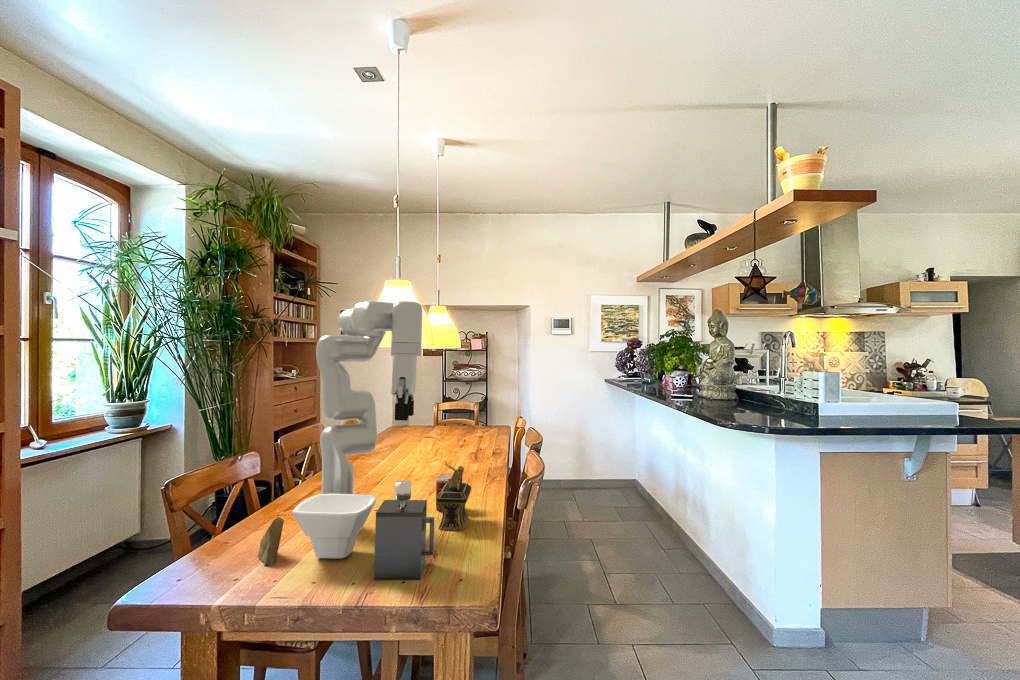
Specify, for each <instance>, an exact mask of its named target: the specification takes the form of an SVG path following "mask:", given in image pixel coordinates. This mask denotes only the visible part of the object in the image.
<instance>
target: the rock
mask: <svg viewBox="0 0 1020 680" xmlns="http://www.w3.org/2000/svg"><path fill="white" fill-rule="evenodd" d="M284 521H285V519H283V518H282V517H280V516H277V517H276V518H275V519H273V520H272V523H271V524H270V525H269V526H268V527H267V530H266V531H265V533H264V534H263V536H262V538H261V540H260V542H259V550H258V553H257V558H258V559H259V560H260V561H261V562H262V563H263V565H265V566H268V565H269V566H270V565H271V566H272V565H275V563H276V560H277V557H278V552H279V547H280V543H281V542H280V541H281V538H282V532H283V527H284Z"/></svg>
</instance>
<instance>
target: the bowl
mask: <svg viewBox="0 0 1020 680" xmlns="http://www.w3.org/2000/svg"><path fill="white" fill-rule="evenodd" d="M376 502H377V496H376V495H373V494H360V493H359V494H357V493H353V494H321V493H319V494H316V495H313V496H311V497H309V498H307V499H305V500H304V501H303V500H302V501H301V502H300V503H299V504H297V505H296V506H295V507H294V509H293V510H292V512H291V514H292V516H293V517H294V519H295V521H296V522H297V524H298V526H299V528H300V529H301V530H302V531H303V533H304V535H305V536H307V537H309V538H310V541H311V543H312V547H313V552H314V555H315V558H318V559H319V558H320V559H344V558H346V557H348V556H350V554H351V553H352V552H353V550H354V548H355V544H356V542H357V537H358V535H359V532H360V531H361V530H362V528H363V527H364V525H365V524H366V521H367V519H368V518H369V516H370V515H371V512H372V510H373V508H374V506H375V504H376Z"/></svg>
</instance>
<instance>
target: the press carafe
mask: <svg viewBox="0 0 1020 680" xmlns="http://www.w3.org/2000/svg"><path fill="white" fill-rule="evenodd" d="M427 504H428V501H427V499H409V500H405V507H400V506H401V501H400V500H395V499H384V500H383V502H382V503H381V504H380V506H379V508H378V509H377V510H376V512H375V531H374V572H373V581H421V578H422V577H423V576H422V575H423V571H424V568H425V564H426V556H434V554H435V553H434V552H435V550H434V549H435V546H434V545H435V516H427V507H428V505H427ZM427 524H429V537H428V538H429V541H428V542H429V543H428V544H429V545H428V547H429V548H426V546H427V544H426V543H427Z"/></svg>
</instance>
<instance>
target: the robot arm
mask: <svg viewBox="0 0 1020 680" xmlns="http://www.w3.org/2000/svg"><path fill="white" fill-rule="evenodd" d="M337 326H338V328H339V330H340V331H341V332H342V333H343V334H326V335H323V336H321V337H320V338H319V339H318V341H317V343H316V347H315V348H316V349H315V357H316V362H317V366H318V368H319V371H320V375H321V383H322V384H321V385H322V402H323V403H322V404H323V414H324V416H325V418H326V419H327V420H329V421H340V422H341V421H355V420H356V421H357V423H352V424H351V423H347V424H346V423H345V424H335V425H331V426H327V427H326V428H324V429H323V430H322V431H321V432H320V436H319V446H320V452H321V493H320V494H354V483H355V470H354V466H353V464H352V463H351V461H350V460H349V459H348V457H347V456H351V455H359V454H367V453H368V454H369V453H370V452H372V451H374V449H376V446H377V442H378V430H377V429H378V428H377V412H376V411H377V410H376V403H375V402H376V401H375V399H374V396H373V394H372V393H371V392H370V391H368V390H363V389H354V390H353V389H352V387H351V376H350V374H349V372H348V370H347V368H346V367H345V366H344V365H343V364H342V363H341V362H346V363H347V362H349V363H350V362H353V363H354V362H355V363H357V362H358V363H359V362H360V363H361V362H362V363H364V362H370V361H372V359H373V358H374V356H375V355H376V353H377V351H378V349H379V347H380V345H381V343H382V341H383V339H384V337H385V335H386V332H391V346H390V347H391V349H390V350H391V351H390V356H393V362H392V363H393V365H392V376H391V377H392V379H391V380H392V381H391V392H390V394H391V395H393V396H395V403H394V421H406V422H407V421H408V420H409V417H412V416H414V411H415V410H414V407H415V404H414V403H415V400H414V394H415V392H416V388H417V387H416V386H417V385H416V384H417V357H422V340H423V339H422V336H423V335H422V333H423V307H422V304H421V303H419V302H415V301H397V302H385V301H373V300H371V301H363V302H357V303H356V304H355V305H354V306H353V307H351V308H348V309H345V310H344V311H342V312H341V313H340V315H339V316H338V318H337Z"/></svg>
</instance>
